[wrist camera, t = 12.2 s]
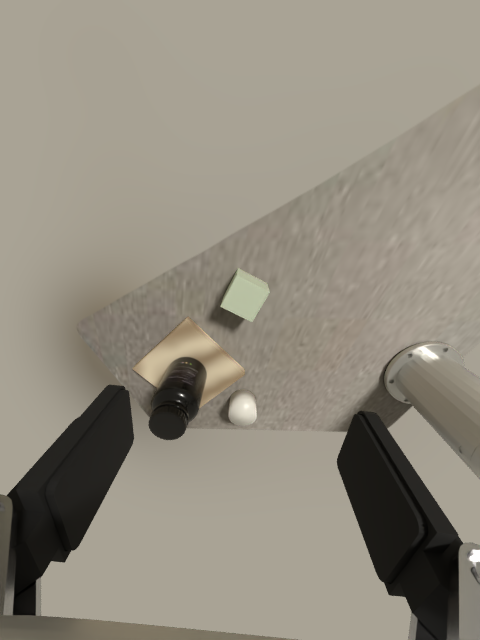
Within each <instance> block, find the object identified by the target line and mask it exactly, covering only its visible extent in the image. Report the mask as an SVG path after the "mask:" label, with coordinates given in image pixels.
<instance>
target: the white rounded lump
mask: <svg viewBox="0 0 480 640" xmlns="http://www.w3.org/2000/svg"><path fill="white" fill-rule="evenodd" d="M228 416H229V419H230V421H231V422H232V423H233V424H235V425H237V426H248V425H251V424H252V423H254V421H255V420H256V417H257V414H256V398H255V396H254V394H253V393H252V392H250V391H248V390H238V391H235V392H234V393H233V394H232V395H231V397H230V404H229V415H228Z"/></svg>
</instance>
